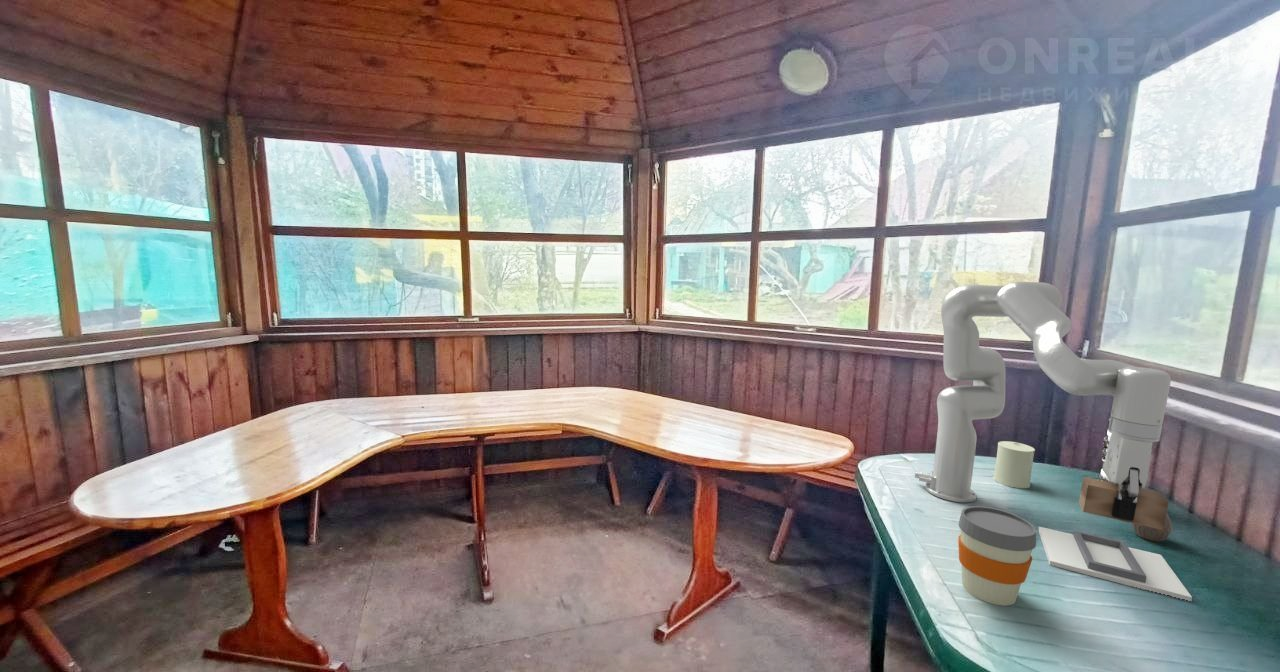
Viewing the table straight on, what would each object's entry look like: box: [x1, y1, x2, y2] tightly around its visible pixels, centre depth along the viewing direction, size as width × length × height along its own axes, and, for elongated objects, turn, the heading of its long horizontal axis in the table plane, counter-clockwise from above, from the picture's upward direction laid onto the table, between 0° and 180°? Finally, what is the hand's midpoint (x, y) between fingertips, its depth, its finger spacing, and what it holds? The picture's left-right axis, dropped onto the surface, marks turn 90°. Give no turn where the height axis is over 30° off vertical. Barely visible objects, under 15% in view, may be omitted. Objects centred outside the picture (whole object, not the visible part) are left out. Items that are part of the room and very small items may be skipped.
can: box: [992, 440, 1036, 489], centre depth 155 cm, size 9×9×12 cm
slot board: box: [1038, 526, 1193, 602], centre depth 113 cm, size 22×18×2 cm
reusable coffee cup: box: [957, 505, 1037, 607], centre depth 100 cm, size 13×13×15 cm
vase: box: [1131, 512, 1173, 543], centre depth 124 cm, size 7×7×9 cm
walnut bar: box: [1078, 476, 1170, 530], centre depth 104 cm, size 12×5×6 cm, turn 57°
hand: (1118, 512), depth 105 cm, fingers closed on walnut bar, 5 cm apart
